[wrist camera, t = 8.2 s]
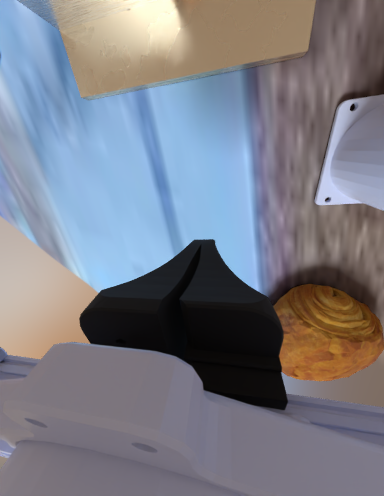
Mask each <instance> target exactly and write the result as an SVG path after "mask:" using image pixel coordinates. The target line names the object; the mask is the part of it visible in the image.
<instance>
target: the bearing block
mask: <svg viewBox="0 0 384 496" xmlns="http://www.w3.org/2000/svg"><path fill="white" fill-rule="evenodd" d="M18 1H19V2H20V3H22V4H23V5H25V6H26V7H27V8H29V9H30V10H32V11H33V12H34V13H36V14H37V15H39V16H40V17H41V18H43V19H44V20H46V21H47V22H48V23H50V24H51V25H53V26H54V27H55V28H57V29H58V30H60V33H61V36H62V39H63V42H64V45H65V48H66V51H67V55H68V58H69V61H70V64H71V67H72V70H73V73H74V76H75V79H76V82H77V85H78V89H79V92H80V95H81V98H83V99H86V100H94V99H99V98H104V97H109V96H114V95H118V94H123V93H128V92H133V91H138V90H143V89H148V88H153V87H158V86H163V85H168V84H173V83H178V82H183V81H188V80H192V79H197V78H202V77H207V76H212V75H217V74H222V73H227V72H232V71H237V70H242V69H247V68H252V67H257V66H262V65H266V64H271V63H276V62H281V61H286V60H291V59H296V58H301V57H303V56H304V55H305V53H306V52H307V51H308V47H309V41H310V34H311V28H312V22H313V15H314V9H315V2H316V0H18Z"/></svg>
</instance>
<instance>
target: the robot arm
mask: <svg viewBox="0 0 384 496" xmlns="http://www.w3.org/2000/svg"><path fill="white" fill-rule="evenodd" d="M352 104H354V105H355V108H354V110H353V111H350V106H351V105H352ZM327 197H329V200H328V201H325V199H326V198H327ZM315 203H316V204H318V205H333V204H353V203H365V204H368V205H370V206H373V207H375V208H378V209H380V210H383V211H384V94H383V95H376V96H370V97H363V98H357V99H350V100H346V101H344V102H342V103H341V104H340V105H339V106H338V107H337V110H336V114H335V118H334V122H333V126H332V130H331V134H330V139H329V143H328V147H327V151H326V155H325V159H324V163H323V167H322V172H321V176H320V180H319V184H318V188H317V192H316V196H315ZM80 327H81V329H82V331H83V332H84V334H85V336H86V337H87V339H88V340H89V342H90V343H91V344H85V343H77V342H69V343H59V344H55V345H53V346H52V347H51V349H50V350H49V351H48V352H47V353H46V354H45V355H44V357H43V358H42V359H41V360H40V359H33V358H26V357H18V356H12V355H7V353H6V352H5V350H3V349H2V348H1V347H0V456H2V457H6V458H8V460H7V461H6V462H5V464H4V465H3V467H2V468H1V470H0V496H384V407H378V406H370V405H362V404H355V403H349V402H342V401H335V400H327V399H320V398H313V397H306V396H299V395H291V394H286V391H285V387H284V383H283V379H282V375H281V372H282V365H281V361H280V358H279V355H280V351H281V347H282V343H283V339H284V331H283V328H282V325H281V322H280V320H279V317H278V315H277V313H276V311H275V309H274V307H273V306H272V304H271V302H270V300H269V299H268V297H266V296H265V295H263V294H261V293H260V292H258V291H256V290H254V289H253V288H251V287H250V286H248V285H247V284H245V283H244V282H243V281H242V280H240V279H239V278H238V277H237V276H236V275H235V274H234V273H233V272H232V271H231V270H230V269H229V268H228V266H227V265H226V264H225V262H224V261H223V259H222V258H221V256H220V254H219V252H218V250H217V248H216V245H215V241H214V240H213V239H210V240H194V241H192V242H191V243H190V244H189V245H188V246H187V247H186V248H185V249H184V250H182V251H181V252H180V253H179V254H178V255H176V256H175V257H174V258H173V259H171V260H170V261H168V262H167V263H166V264H164V265H162V266H161V267H159V268H157V269H155V270H153V271H152V272H150V273H148V274H146V275H144V276H141V277H139V278H137V279H134V280H132V281H129V282H126V283H123V284H120V285H117V286H114V287H111V288H107V289H104V290H101V291H100V293H99V294H98V295H97V296H96V297H95V298H94V300H93V301H92V302H91V303H90V304H89V305H88V307H87V308H86V309H85V310H84V311H83V313H82V314H81V316H80Z"/></svg>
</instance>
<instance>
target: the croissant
mask: <svg viewBox="0 0 384 496" xmlns="http://www.w3.org/2000/svg"><path fill="white" fill-rule="evenodd" d="M273 307H274V309H275V311H276V313H277V315H278V317H279V320H280V322H281V325H282V328H283V331H284V339H283V343H282V347H281V351H280V355H279V358H280V361H281V365H282V372H283V373H284V374H286V375H287V376H291V377H293V378H296V379H300V380H315V381H330V380H334V379H339V378H344V377H349V376H351V375H352V374H354V373H356V372H357V371H359V370H361V369H364V368H366V367H368V366H369V365H371V364H372V363H373V362H375V361H376V359H377V358H378V357H379V355H380V354H381V353H382V351H383V350H384V340H383V330H382V326H381V323H380V320H379V319H378V318H377V317H376V316H375V314H373V313H372V312H371V311H370V309H369V308H368V306H367V305H366V304H362V303H360V302H359V301H357V300H355V299H353V297H350V296H349V295H348V294H346V293H345V292H344V291H340V290H338V289H335V288H332V287H330V286H321V285H313V284H305V285H301V286H297V287H294V288H292V289H291V290H290V291H289V292H288V293H286V294H285V295H284V296H282V297H281V298H280V299H279V300H278V301H277V303H276V304H275V305H274V306H273Z"/></svg>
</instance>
